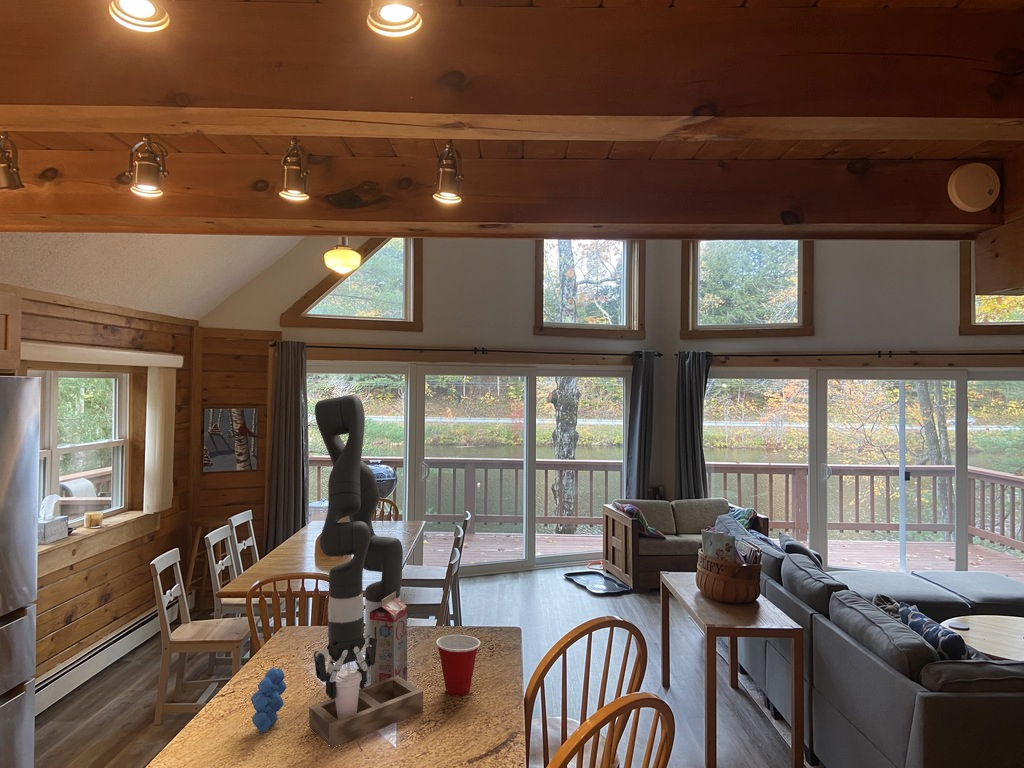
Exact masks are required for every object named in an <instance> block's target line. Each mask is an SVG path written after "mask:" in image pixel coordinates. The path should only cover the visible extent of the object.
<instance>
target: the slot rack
mask: <svg viewBox="0 0 1024 768" xmlns="http://www.w3.org/2000/svg"><path fill="white" fill-rule="evenodd" d="M422 712H424V690H422V689H420V688H419V687H417V686H416V685H414V684H413V683H411V682H410V681H408V680H407V681H406V680H404V679H403V678H401V677H399V676H398V675H396V676H393V677H391V678H388V679H385V680H382V681H379V682H377V683H374V684H371V685H370V684H369V685H365V687H364V688H362V689H361V688H359V696H358V705H357V713H356V714H353V715H351V716H348V717H346V718H343V719H340V720H338V717H337V710H336V703H335V699H331V698H329V699H327V700H325V701H324V700H323V701H321V702H318V703H316V704H313V705H310V706H308V719H309V720H308V722H309V723H308V727H310V728H311V729H312V730H313V731H314V732H315V733H316V735H317V736H318V738H319V739H321V740H322V741H323V742H324V741H325V742H326V743H327V744H328V745H330V746H331V747H332V748H334V747H336V746H339V745H341V746H343V744H344V745H346V744H348V743H350V742H353V741H355V740H358V739H359V738H363V737H364V736H367V735H369V734H372V733H374V732H377V731H379V730H381V729H384V728H386V727H388V726H391V725H393V724H396V723H398V722H401V721H403V720H405V719H408V718H410V717H413V716H415V715H417V714H420V713H422ZM310 728H309V729H310ZM311 729H310V730H311ZM312 730H311V731H312ZM313 731H312V732H313ZM314 732H313V733H314ZM315 733H314V734H315ZM325 742H324V743H325ZM326 743H325V744H326ZM345 743H346V744H345ZM327 744H326V745H327ZM328 745H327V746H328ZM330 746H329V747H330ZM331 747H330V748H331ZM339 747H340V746H339ZM332 748H331V749H332ZM336 748H337V747H336ZM334 749H335V748H334Z"/></svg>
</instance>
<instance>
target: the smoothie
mask: <svg viewBox="0 0 1024 768" xmlns="http://www.w3.org/2000/svg"><path fill="white" fill-rule="evenodd" d="M361 680H362V677H361V673H360V672H359V671H357V669H351V662H348V663H347V669H344V670H340V671H339V672H338V673H337V675H336V678H335V680H334V681H336V698H335V703H336V710H337V717H338V720H340V719H343V718H346V717H348V716H351V715H353V714H356V713H357V705H358V696H359V689H360V688H359V687H360V681H361Z"/></svg>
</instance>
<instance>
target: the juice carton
mask: <svg viewBox="0 0 1024 768" xmlns="http://www.w3.org/2000/svg"><path fill="white" fill-rule="evenodd" d="M370 635H372V636H373V637H375V638H377V646H376V656H375V664H374V665H373V666H369V685H371V684H374V683H377V682H379V681H382V680H385V679H388V678H391V677H393V676H396V675H398V676H399V677H401V678H403V679H404V680H406V681H407V682H408V605H406V604H405V603H404V602H402V600H400V601H399V600H398V599H396V592H394V593H392V594H390V595H389V596H387V597H386V598H384V599H382V600H381V605H380V606H379V607H377V608H376V609H374V610H372V611H371V612H370Z"/></svg>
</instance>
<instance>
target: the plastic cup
mask: <svg viewBox="0 0 1024 768" xmlns="http://www.w3.org/2000/svg"><path fill="white" fill-rule="evenodd" d="M435 642H436V646H437V648H438V653H439V657H440V663H441V670H442V677H443V679H444V680H443V681H444V686H445V690H446V693H447V694H448V695H451V696H453V697H454V696H456V697H458V696H465V695H466V694H468V693H469V692H470V691H471V687H472V679H473V676H474V669H475V663H476V657H477V654H478V650H479V647H480V645H481V643H482V642H481V641H480V639H479V638H477V637H474V636H471V635H465V634H449V635H443V636H441V637H439V638H438V639H437V640H436V641H435Z"/></svg>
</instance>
